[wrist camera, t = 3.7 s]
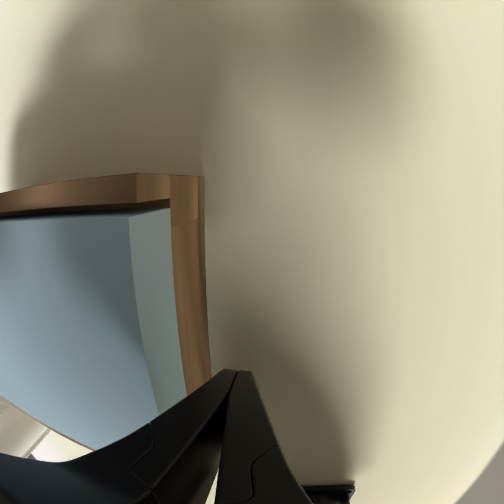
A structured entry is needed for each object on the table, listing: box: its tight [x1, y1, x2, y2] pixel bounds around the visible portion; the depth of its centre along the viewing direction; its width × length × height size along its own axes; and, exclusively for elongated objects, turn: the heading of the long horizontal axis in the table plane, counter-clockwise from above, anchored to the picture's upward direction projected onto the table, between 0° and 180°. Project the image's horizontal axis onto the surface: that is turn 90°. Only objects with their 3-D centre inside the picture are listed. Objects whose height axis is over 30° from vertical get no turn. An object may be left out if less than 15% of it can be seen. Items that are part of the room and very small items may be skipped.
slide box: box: [0, 173, 211, 451], centre depth 11 cm, size 12×12×6 cm
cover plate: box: [0, 208, 187, 450], centre depth 9 cm, size 12×10×2 cm
